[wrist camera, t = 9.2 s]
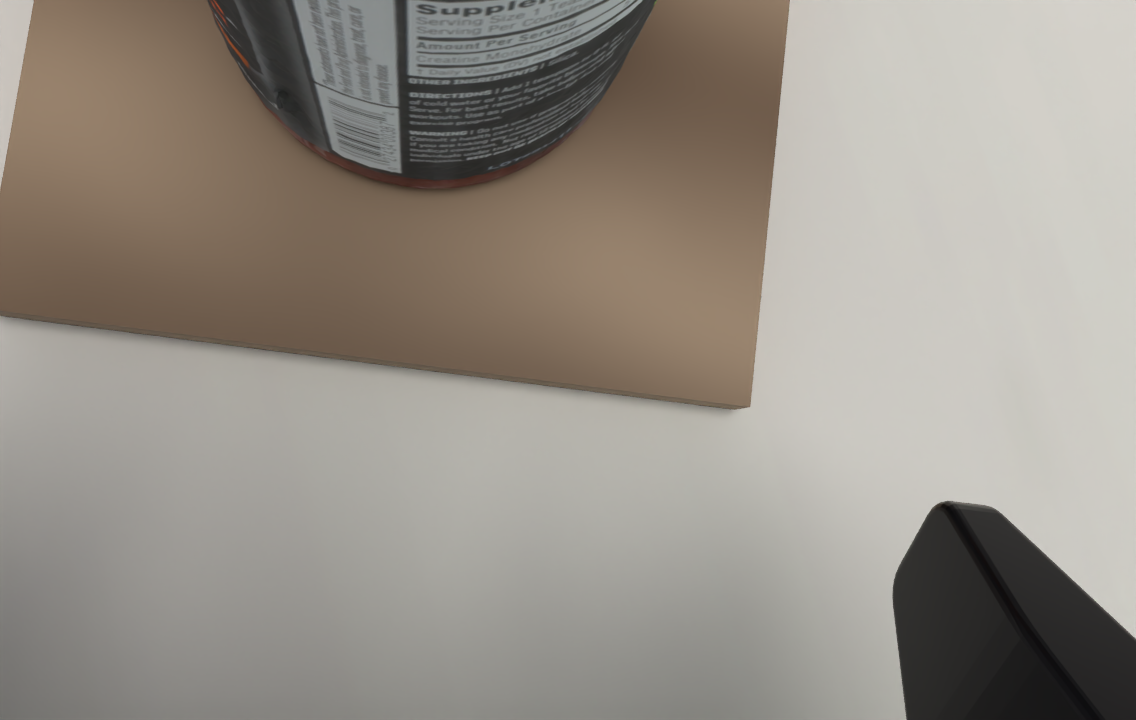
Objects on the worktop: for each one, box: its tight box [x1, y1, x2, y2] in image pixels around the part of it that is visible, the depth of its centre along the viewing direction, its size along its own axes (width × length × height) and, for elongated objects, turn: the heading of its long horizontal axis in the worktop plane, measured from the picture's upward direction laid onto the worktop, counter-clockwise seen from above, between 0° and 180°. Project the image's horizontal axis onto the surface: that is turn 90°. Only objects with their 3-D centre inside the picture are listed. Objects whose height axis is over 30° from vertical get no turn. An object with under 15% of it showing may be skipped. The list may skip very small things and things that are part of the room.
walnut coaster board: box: [0, 0, 790, 410], centre depth 17 cm, size 11×11×1 cm
